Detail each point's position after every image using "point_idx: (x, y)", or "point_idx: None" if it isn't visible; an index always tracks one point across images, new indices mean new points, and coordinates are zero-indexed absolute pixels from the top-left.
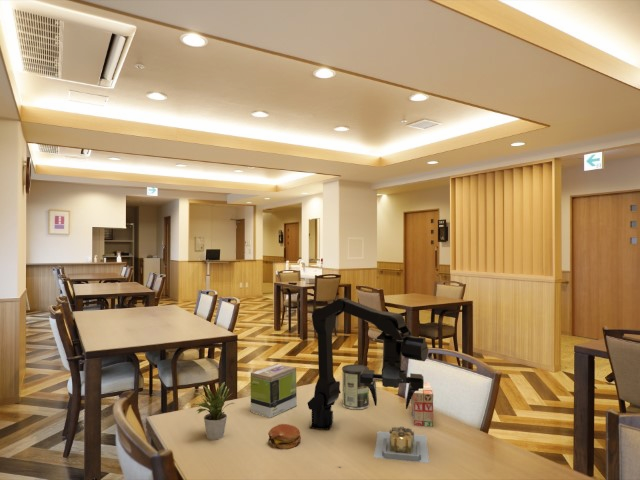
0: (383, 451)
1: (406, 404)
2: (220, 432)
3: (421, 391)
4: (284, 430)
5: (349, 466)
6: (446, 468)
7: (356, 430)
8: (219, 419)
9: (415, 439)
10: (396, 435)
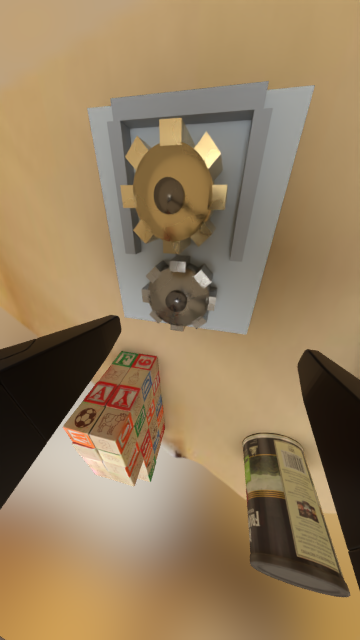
0: (266, 108)
1: (95, 324)
2: None
3: (97, 443)
4: None
5: None
6: (51, 128)
7: (303, 351)
8: None
9: None
10: (193, 189)
